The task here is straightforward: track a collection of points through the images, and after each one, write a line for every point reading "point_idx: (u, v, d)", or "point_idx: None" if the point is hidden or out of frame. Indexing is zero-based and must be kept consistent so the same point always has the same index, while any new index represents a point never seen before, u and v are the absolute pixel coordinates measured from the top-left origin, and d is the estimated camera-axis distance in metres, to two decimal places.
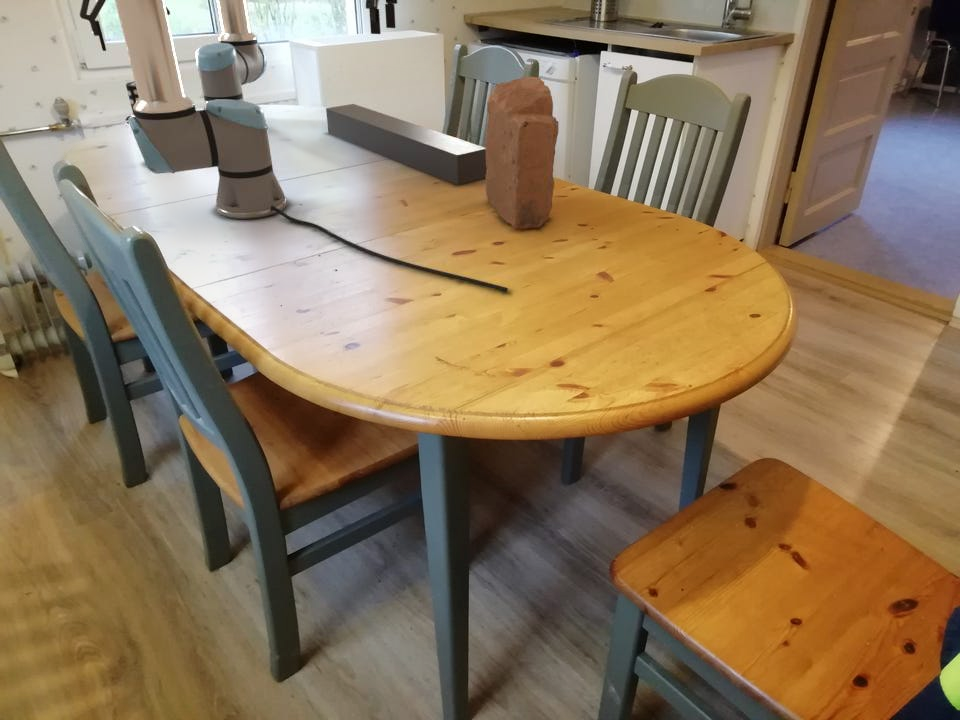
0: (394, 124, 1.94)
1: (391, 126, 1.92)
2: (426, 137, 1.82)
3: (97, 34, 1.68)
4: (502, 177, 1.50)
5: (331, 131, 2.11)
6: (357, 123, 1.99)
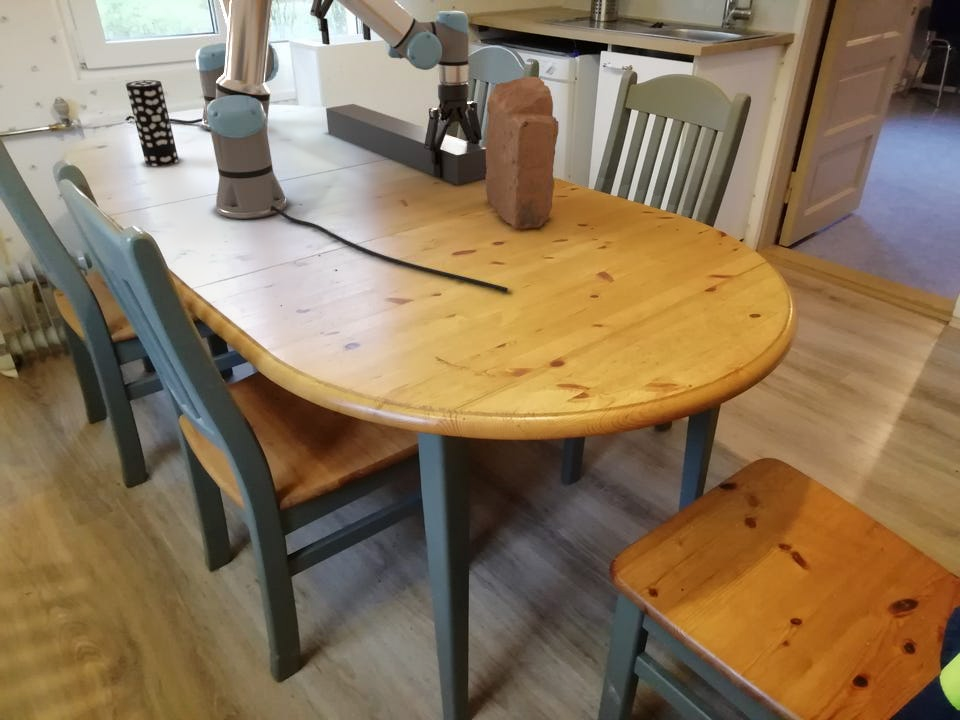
0: (394, 124, 1.94)
1: (391, 126, 1.92)
2: None
3: (437, 163, 1.75)
4: (502, 177, 1.50)
5: (331, 131, 2.11)
6: (357, 123, 1.99)
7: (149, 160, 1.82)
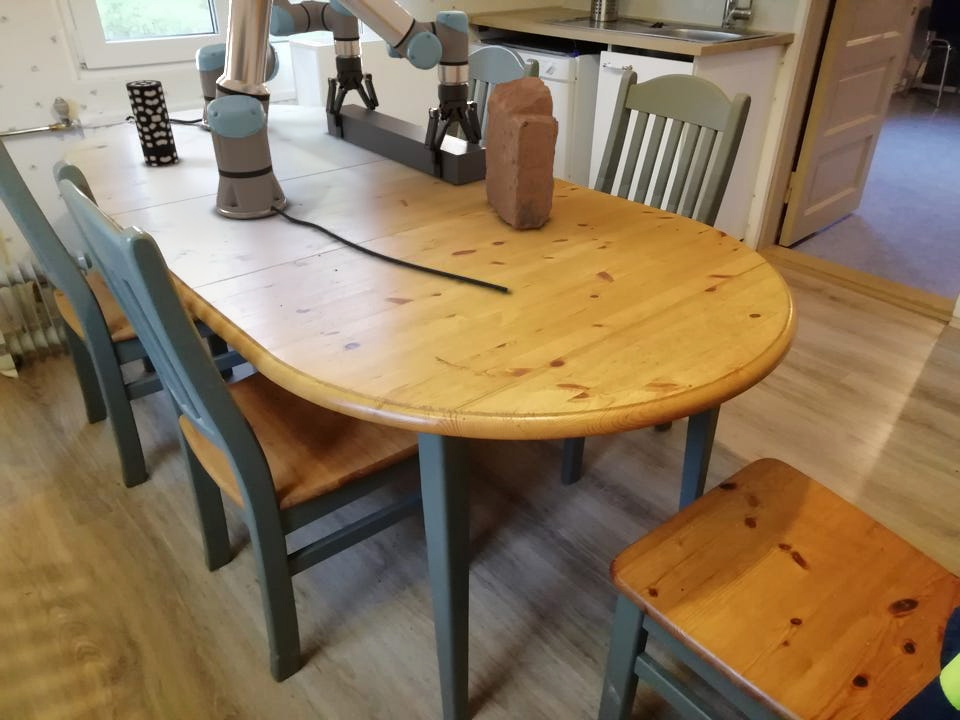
0: (394, 124, 1.94)
1: (391, 126, 1.92)
2: None
3: (437, 163, 1.75)
4: (502, 177, 1.50)
5: (331, 131, 2.11)
6: (357, 123, 1.99)
7: (149, 160, 1.82)
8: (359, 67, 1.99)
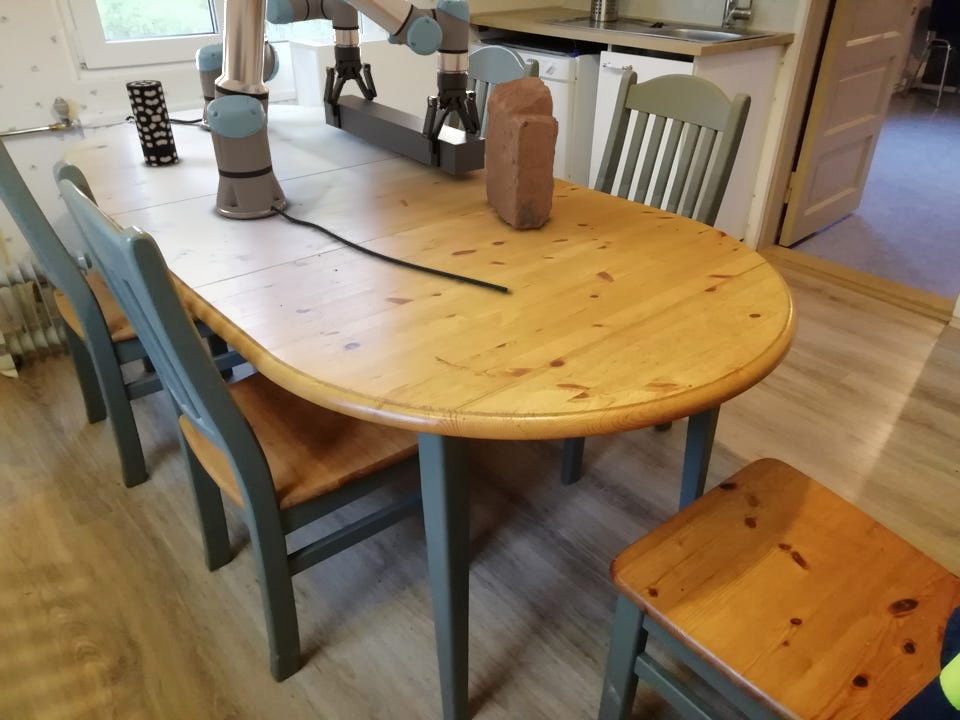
0: (392, 114, 1.92)
1: (389, 116, 1.90)
2: None
3: (435, 152, 1.73)
4: (502, 177, 1.50)
5: (328, 121, 2.10)
6: (354, 113, 1.97)
7: (149, 160, 1.82)
8: (358, 57, 1.97)
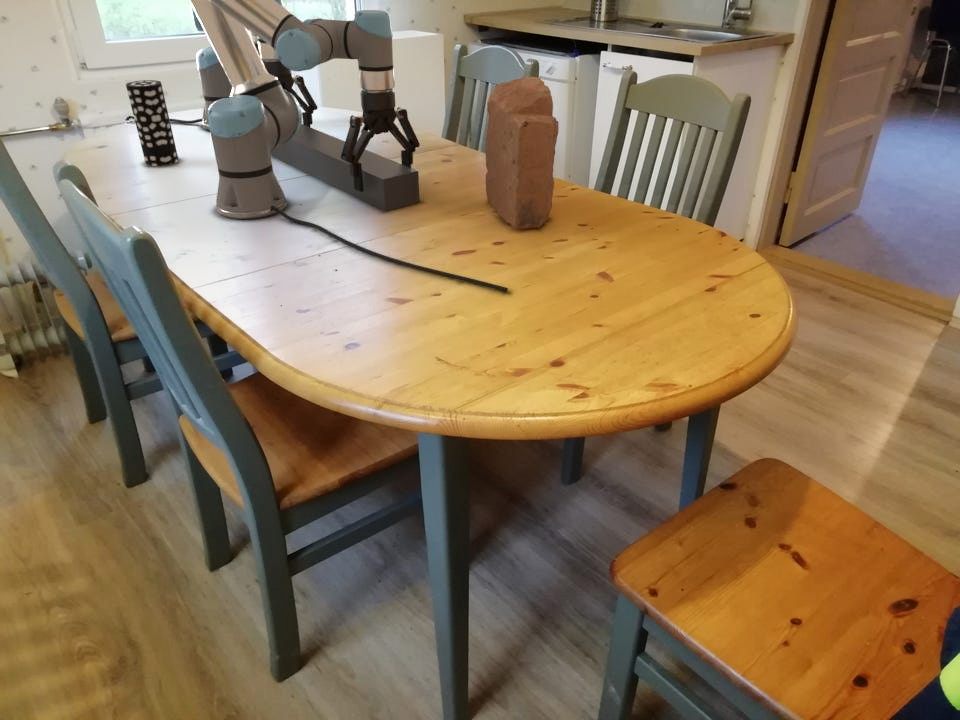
0: (324, 142, 1.77)
1: (320, 144, 1.76)
2: None
3: (357, 175, 1.56)
4: (502, 177, 1.50)
5: None
6: None
7: (149, 160, 1.82)
8: (287, 72, 1.81)
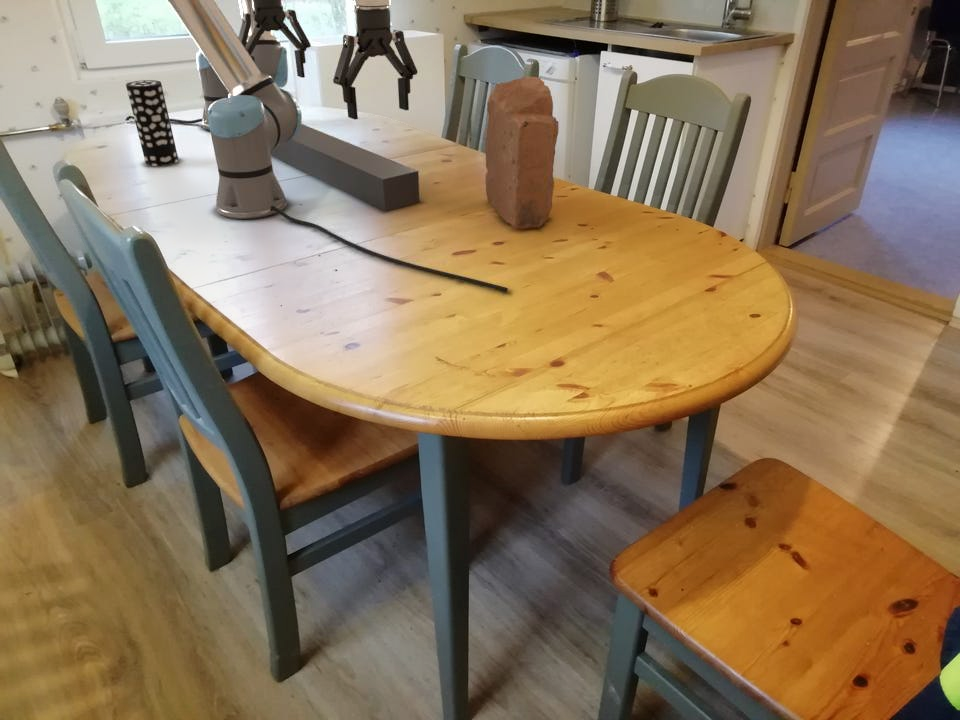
0: (324, 142, 1.77)
1: (320, 144, 1.76)
2: (355, 157, 1.66)
3: (350, 101, 1.47)
4: (502, 177, 1.50)
5: None
6: None
7: (149, 160, 1.82)
8: (278, 3, 1.73)
